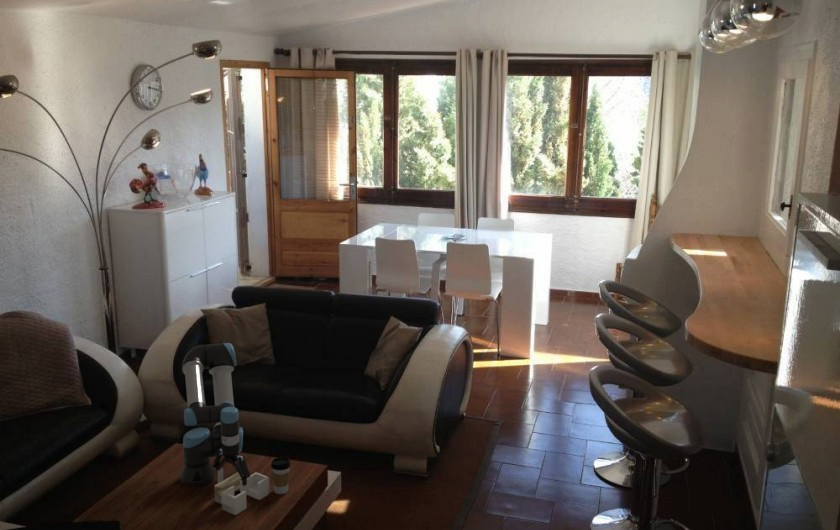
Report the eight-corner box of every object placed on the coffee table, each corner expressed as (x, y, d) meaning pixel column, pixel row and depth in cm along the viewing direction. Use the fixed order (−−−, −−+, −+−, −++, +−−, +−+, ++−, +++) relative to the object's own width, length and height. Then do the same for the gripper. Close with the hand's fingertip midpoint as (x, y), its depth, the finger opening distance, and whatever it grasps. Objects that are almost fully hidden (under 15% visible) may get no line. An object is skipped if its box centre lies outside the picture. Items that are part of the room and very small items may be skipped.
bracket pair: (221, 509, 319) (221, 492, 317) (256, 488, 337) (255, 472, 335) (235, 515, 315) (235, 498, 313) (269, 493, 333) (269, 477, 331)
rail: (214, 495, 324) (214, 485, 323) (241, 480, 337) (240, 470, 336) (222, 499, 322) (221, 488, 320) (248, 483, 335) (248, 473, 334)
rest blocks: (215, 501, 325) (215, 495, 324) (240, 486, 338) (240, 480, 337) (223, 504, 323) (223, 498, 322) (248, 489, 335) (248, 483, 334)
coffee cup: (286, 496, 330) (286, 465, 327) (268, 494, 332) (268, 463, 329) (293, 487, 338) (293, 457, 335) (275, 484, 340) (275, 454, 337)
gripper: (203, 438, 327) (205, 482, 332) (245, 453, 315) (246, 498, 319) (216, 432, 334) (217, 476, 338) (257, 446, 321) (259, 491, 326)
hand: (231, 487), depth 329 cm, fingers open, 13 cm apart
